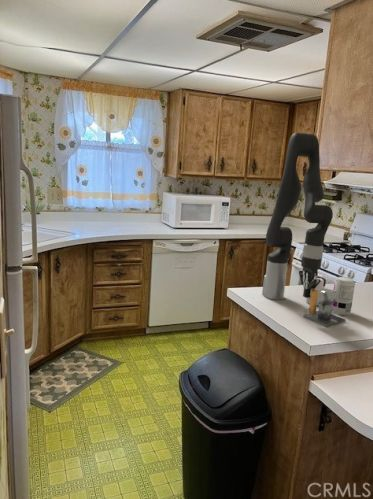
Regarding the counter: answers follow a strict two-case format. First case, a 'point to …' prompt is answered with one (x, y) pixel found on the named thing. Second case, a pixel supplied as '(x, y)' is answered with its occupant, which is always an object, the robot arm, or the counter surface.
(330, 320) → the grey stand with base
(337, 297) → the supplement can
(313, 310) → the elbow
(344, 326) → the counter surface
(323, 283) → the medicine bottle
